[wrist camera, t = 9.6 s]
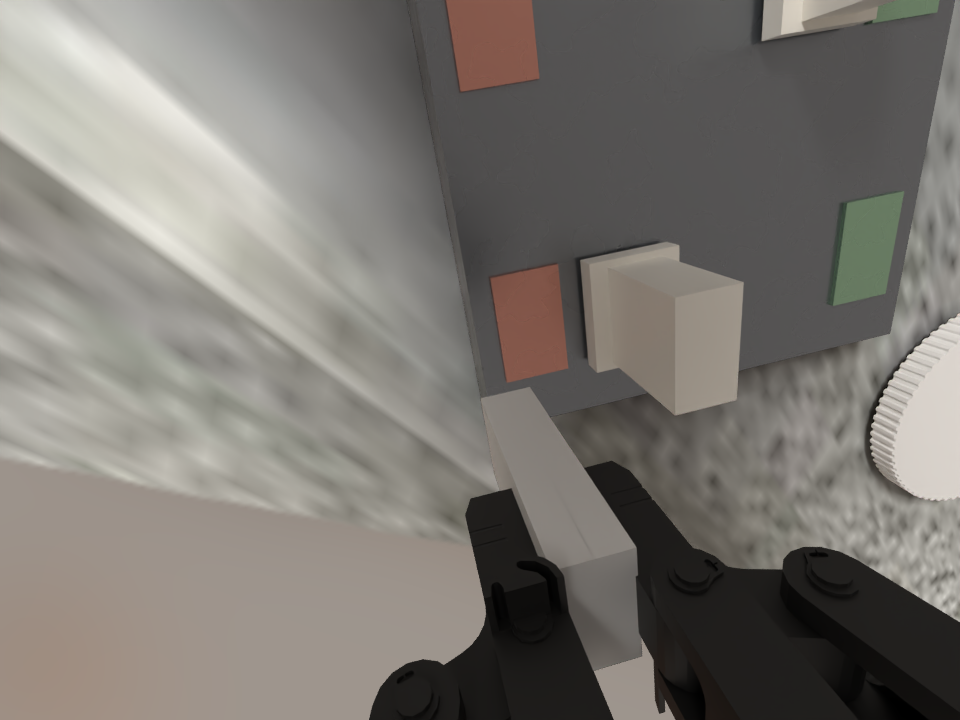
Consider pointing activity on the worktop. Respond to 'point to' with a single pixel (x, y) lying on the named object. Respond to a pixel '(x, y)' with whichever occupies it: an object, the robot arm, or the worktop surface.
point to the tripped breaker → (664, 325)
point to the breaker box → (673, 168)
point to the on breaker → (814, 15)
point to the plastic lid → (923, 419)
